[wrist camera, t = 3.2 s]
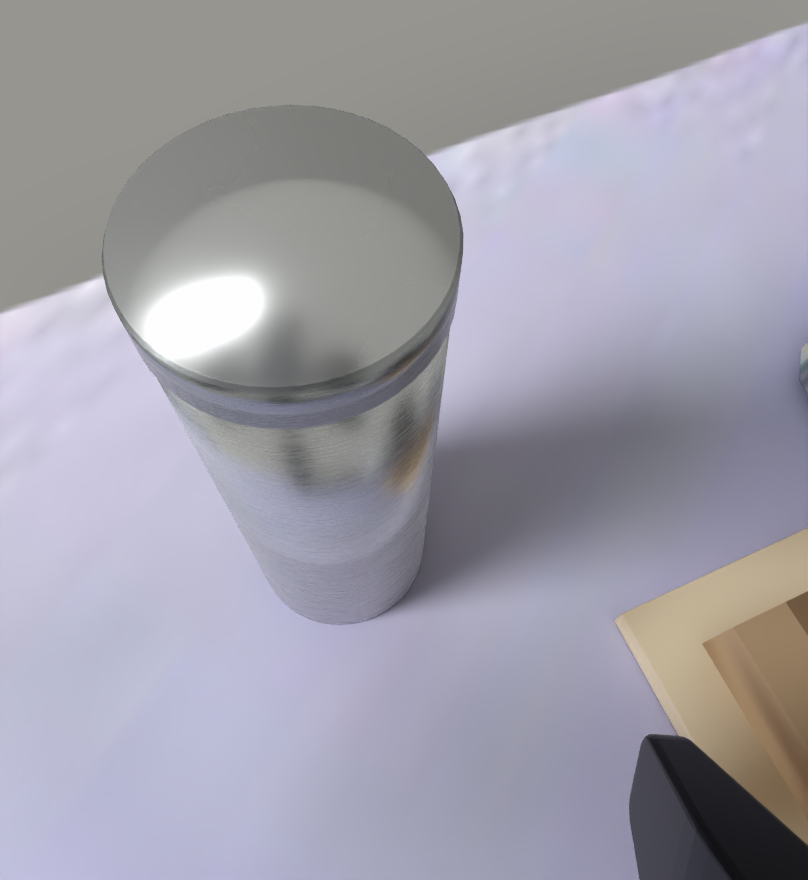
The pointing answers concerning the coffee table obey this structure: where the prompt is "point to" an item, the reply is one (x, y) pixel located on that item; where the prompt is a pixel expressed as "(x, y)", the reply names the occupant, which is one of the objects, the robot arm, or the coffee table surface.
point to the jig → (738, 670)
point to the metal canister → (299, 335)
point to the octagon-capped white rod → (804, 367)
